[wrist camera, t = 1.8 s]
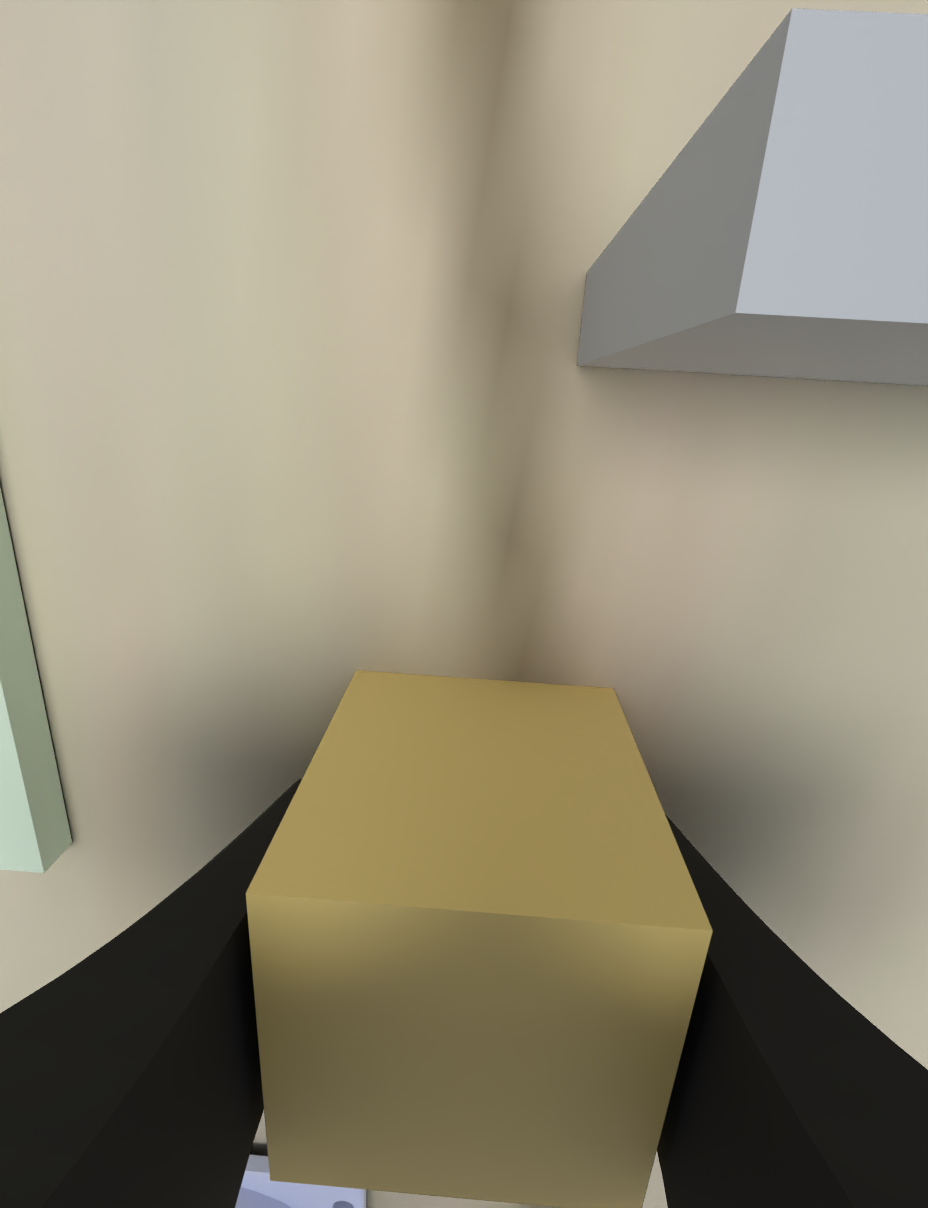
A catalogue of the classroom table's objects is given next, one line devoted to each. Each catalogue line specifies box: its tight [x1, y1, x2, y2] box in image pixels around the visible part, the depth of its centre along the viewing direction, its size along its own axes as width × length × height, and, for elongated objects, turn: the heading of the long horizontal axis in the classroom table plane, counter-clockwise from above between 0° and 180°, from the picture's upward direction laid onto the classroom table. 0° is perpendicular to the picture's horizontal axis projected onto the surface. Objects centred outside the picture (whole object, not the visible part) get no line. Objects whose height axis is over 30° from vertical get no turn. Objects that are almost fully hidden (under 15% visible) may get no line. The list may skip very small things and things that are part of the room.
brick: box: [246, 670, 713, 1208], centre depth 9 cm, size 4×4×5 cm
